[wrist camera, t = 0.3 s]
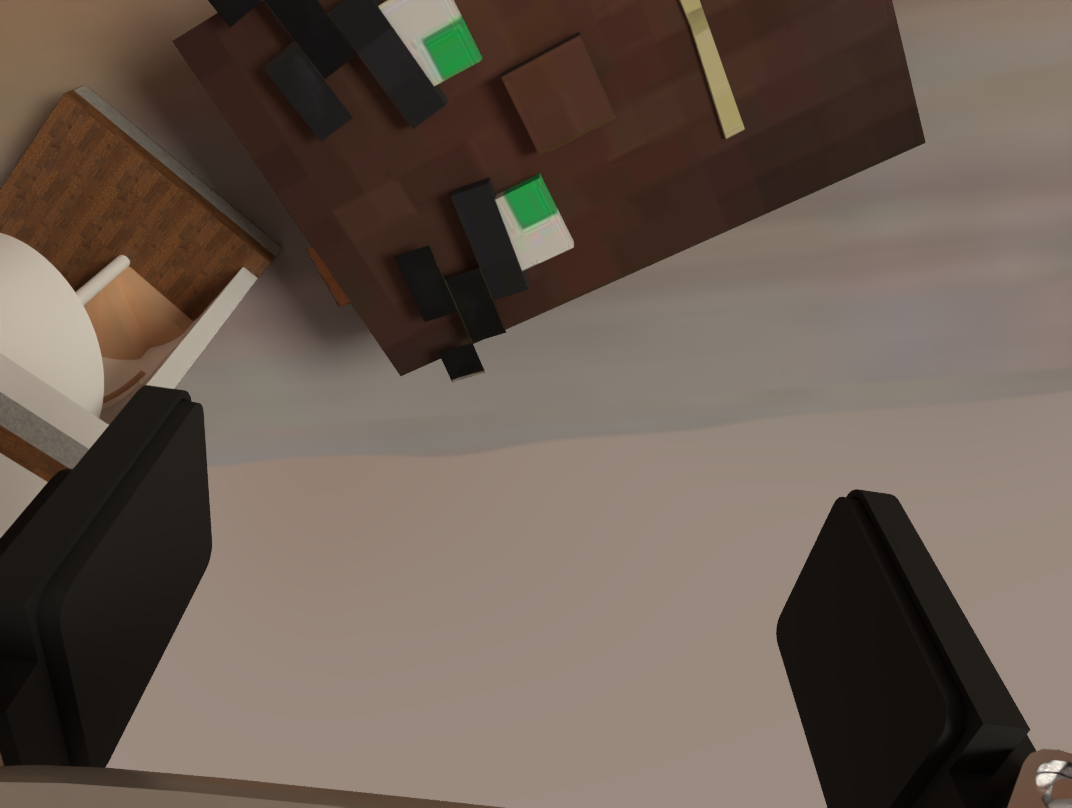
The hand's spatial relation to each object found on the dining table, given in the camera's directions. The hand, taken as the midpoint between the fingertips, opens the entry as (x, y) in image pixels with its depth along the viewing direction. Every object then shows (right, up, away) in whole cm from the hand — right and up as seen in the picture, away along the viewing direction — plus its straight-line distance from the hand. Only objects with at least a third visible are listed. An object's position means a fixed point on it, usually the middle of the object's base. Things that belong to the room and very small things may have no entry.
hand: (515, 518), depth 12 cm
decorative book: (+1, +18, +26) cm, 31 cm away
